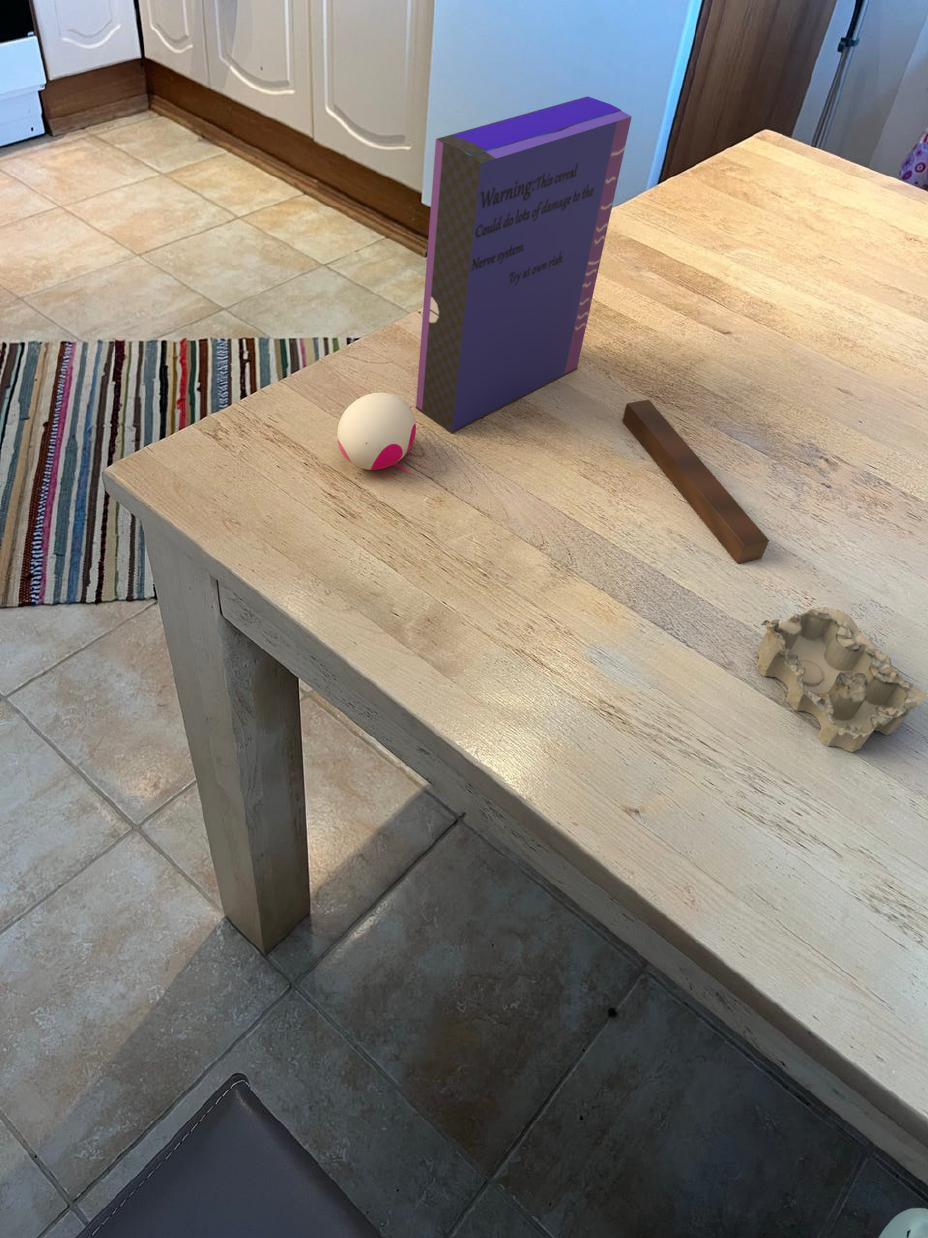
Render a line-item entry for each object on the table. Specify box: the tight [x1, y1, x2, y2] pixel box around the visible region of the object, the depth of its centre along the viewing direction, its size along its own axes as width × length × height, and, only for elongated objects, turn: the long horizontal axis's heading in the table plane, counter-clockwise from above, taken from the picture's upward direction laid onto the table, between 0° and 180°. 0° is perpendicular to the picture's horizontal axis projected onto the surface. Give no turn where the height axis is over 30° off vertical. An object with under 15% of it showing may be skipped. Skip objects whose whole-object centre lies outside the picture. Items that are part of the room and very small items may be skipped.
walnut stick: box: [622, 399, 770, 564], centre depth 83 cm, size 20×2×2 cm, turn 22°
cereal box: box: [415, 95, 633, 434], centre depth 82 cm, size 17×5×24 cm, turn 134°
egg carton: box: [755, 606, 928, 753], centre depth 67 cm, size 11×8×4 cm
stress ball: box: [336, 392, 417, 475], centre depth 80 cm, size 8×8×7 cm
